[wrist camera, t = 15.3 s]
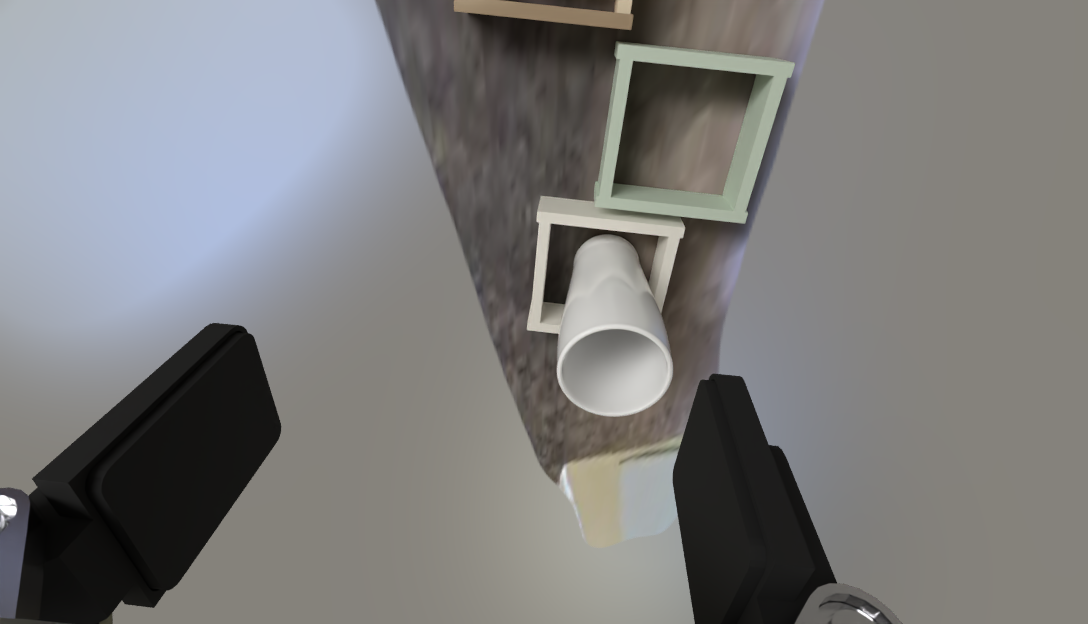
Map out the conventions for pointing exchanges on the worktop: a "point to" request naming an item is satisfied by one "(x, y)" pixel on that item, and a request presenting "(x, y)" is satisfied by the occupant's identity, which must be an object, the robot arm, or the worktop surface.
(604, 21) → the beech frame
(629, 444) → the worktop surface
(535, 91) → the worktop surface
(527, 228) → the worktop surface
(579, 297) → the white cup
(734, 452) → the robot arm
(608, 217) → the cream frame
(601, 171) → the sage frame
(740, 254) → the worktop surface
